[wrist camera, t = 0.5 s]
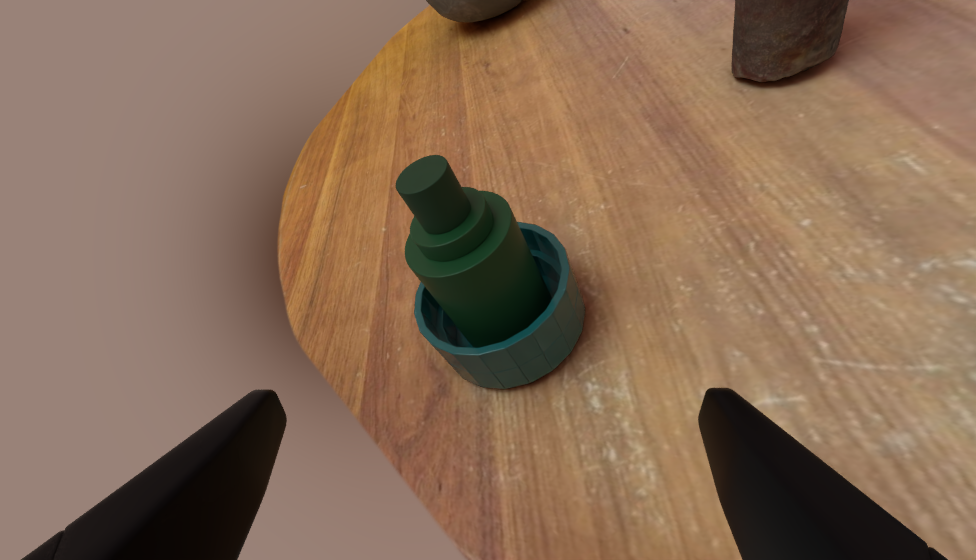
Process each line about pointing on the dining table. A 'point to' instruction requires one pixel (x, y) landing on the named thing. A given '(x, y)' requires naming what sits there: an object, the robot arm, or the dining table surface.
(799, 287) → the dining table surface
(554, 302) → the glazed bowl
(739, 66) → the brown textured cylinder
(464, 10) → the bowl
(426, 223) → the bottle
